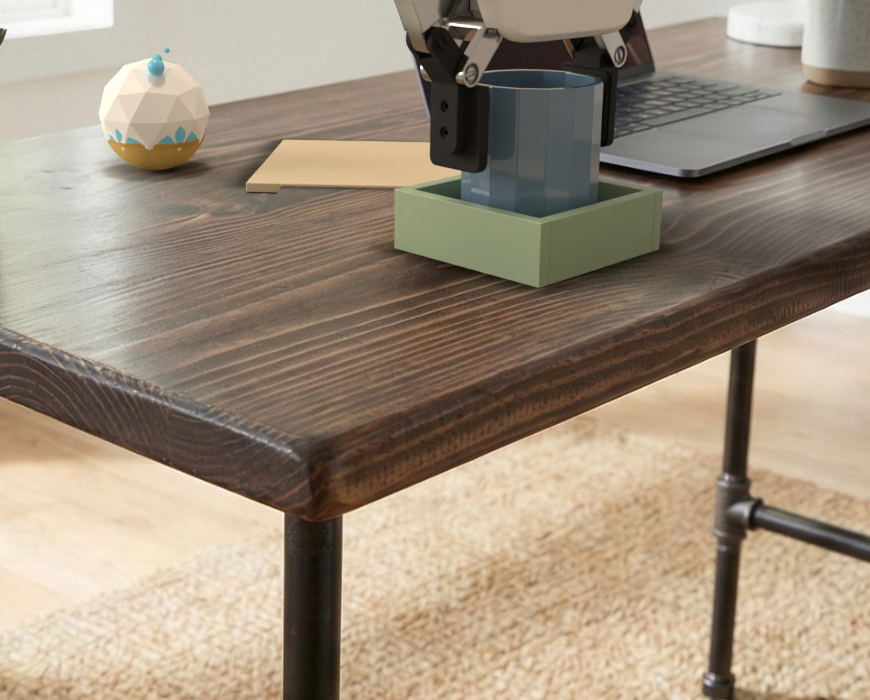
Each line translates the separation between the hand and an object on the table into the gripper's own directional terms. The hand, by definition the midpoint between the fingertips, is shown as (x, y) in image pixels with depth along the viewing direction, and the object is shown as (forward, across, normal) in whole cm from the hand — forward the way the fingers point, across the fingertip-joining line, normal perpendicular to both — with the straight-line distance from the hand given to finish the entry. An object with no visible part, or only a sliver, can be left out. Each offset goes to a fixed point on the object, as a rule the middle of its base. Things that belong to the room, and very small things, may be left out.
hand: (524, 154), depth 65 cm
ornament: (+6, -1, +30) cm, 31 cm away
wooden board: (+5, +9, +20) cm, 23 cm away
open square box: (+5, 0, 0) cm, 5 cm away
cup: (+5, 0, 0) cm, 5 cm away
